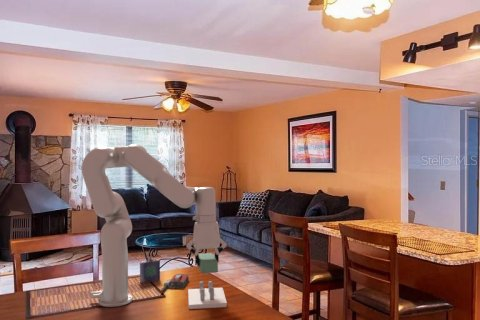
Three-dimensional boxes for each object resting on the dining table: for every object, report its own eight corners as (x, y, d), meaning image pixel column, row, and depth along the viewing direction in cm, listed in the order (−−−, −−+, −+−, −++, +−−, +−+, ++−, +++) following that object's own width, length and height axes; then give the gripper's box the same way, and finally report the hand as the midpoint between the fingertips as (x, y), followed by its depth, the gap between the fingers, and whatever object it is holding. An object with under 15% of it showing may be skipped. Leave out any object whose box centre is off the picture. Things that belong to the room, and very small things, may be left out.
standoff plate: (188, 308, 152) (188, 294, 152) (188, 292, 169) (188, 279, 169) (226, 306, 153) (226, 292, 153) (222, 291, 171) (222, 277, 171)
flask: (141, 283, 182) (140, 259, 182) (138, 281, 185) (138, 257, 185) (160, 280, 187) (160, 256, 187) (158, 278, 190) (158, 255, 190)
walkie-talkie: (170, 279, 188) (158, 294, 169) (170, 270, 188) (158, 283, 168) (189, 280, 188) (180, 295, 168) (189, 270, 188) (180, 284, 168)
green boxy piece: (201, 273, 154) (201, 262, 154) (196, 263, 167) (196, 254, 167) (217, 272, 155) (217, 261, 155) (211, 262, 169) (211, 253, 169)
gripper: (183, 221, 156) (184, 268, 156) (229, 219, 158) (230, 266, 159) (183, 218, 164) (184, 263, 164) (227, 216, 166) (228, 261, 166)
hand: (206, 264), depth 161 cm, fingers closed on green boxy piece, 6 cm apart
